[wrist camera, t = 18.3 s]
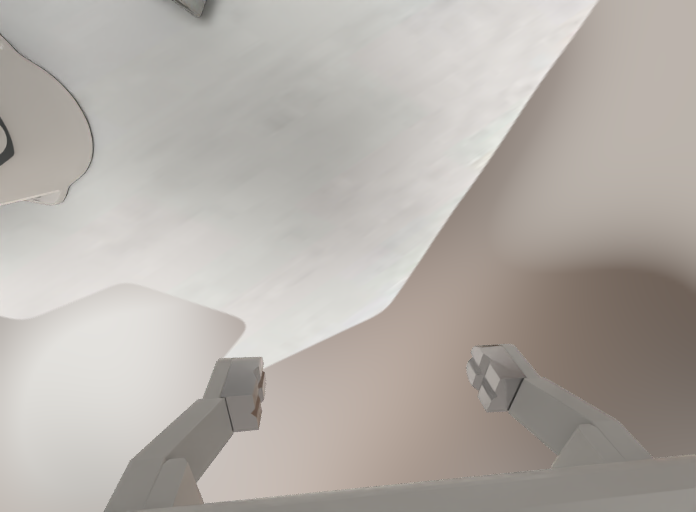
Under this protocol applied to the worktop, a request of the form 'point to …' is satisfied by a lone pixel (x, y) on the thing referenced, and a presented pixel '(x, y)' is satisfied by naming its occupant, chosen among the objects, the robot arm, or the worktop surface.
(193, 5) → the ceramic mug
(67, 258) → the worktop surface
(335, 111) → the worktop surface
